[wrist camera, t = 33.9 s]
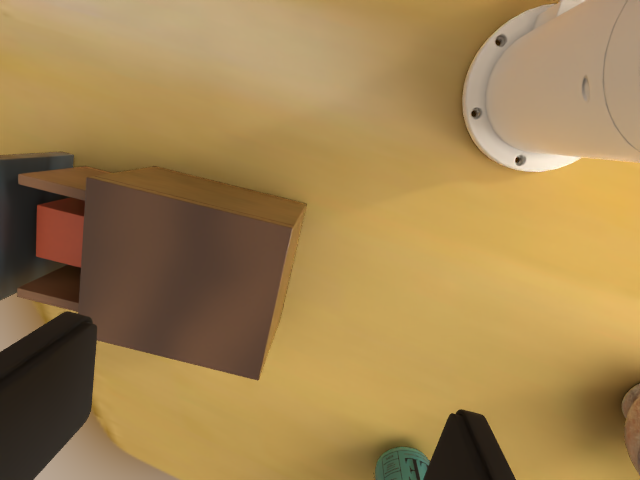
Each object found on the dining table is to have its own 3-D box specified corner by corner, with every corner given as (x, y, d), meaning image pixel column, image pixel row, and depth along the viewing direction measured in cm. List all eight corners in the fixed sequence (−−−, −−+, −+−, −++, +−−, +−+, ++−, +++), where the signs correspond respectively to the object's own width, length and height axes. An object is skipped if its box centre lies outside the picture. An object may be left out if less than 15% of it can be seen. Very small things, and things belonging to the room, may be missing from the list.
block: (76, 195, 34) (36, 204, 30) (123, 207, 34) (91, 218, 30) (73, 241, 35) (35, 256, 31) (119, 253, 35) (88, 269, 31)
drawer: (9, 253, 37) (-76, 283, 30) (9, 138, 34) (-86, 139, 27) (188, 298, 37) (148, 339, 30) (204, 187, 34) (165, 201, 27)
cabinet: (141, 287, 38) (76, 335, 29) (154, 165, 35) (85, 176, 26) (279, 321, 38) (258, 380, 29) (307, 203, 35) (292, 228, 26)
